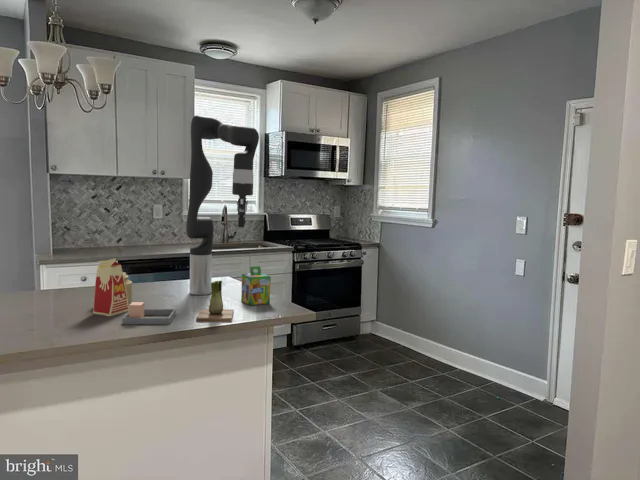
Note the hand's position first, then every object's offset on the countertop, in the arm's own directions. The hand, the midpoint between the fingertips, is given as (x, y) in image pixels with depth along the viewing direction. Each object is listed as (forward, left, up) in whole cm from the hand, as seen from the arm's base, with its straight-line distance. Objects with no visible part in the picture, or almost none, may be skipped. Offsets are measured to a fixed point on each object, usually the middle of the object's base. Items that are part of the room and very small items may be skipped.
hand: (241, 225), depth 174 cm
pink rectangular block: (+13, -34, -33) cm, 49 cm away
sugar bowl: (-12, -48, -33) cm, 59 cm away
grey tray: (+11, -30, -32) cm, 46 cm away
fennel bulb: (+8, -8, -32) cm, 33 cm away
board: (+8, -8, -32) cm, 34 cm away
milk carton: (+2, -46, -33) cm, 57 cm away
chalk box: (-14, +6, -33) cm, 36 cm away
